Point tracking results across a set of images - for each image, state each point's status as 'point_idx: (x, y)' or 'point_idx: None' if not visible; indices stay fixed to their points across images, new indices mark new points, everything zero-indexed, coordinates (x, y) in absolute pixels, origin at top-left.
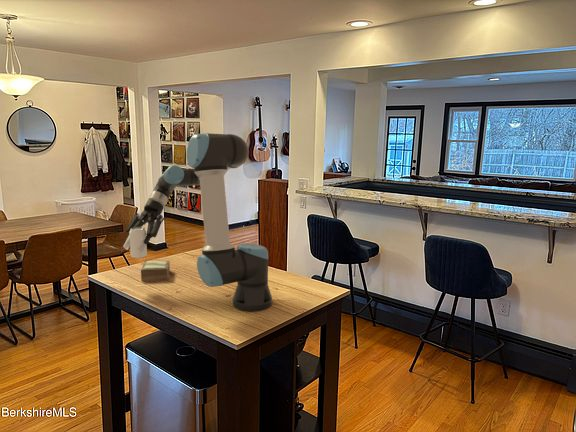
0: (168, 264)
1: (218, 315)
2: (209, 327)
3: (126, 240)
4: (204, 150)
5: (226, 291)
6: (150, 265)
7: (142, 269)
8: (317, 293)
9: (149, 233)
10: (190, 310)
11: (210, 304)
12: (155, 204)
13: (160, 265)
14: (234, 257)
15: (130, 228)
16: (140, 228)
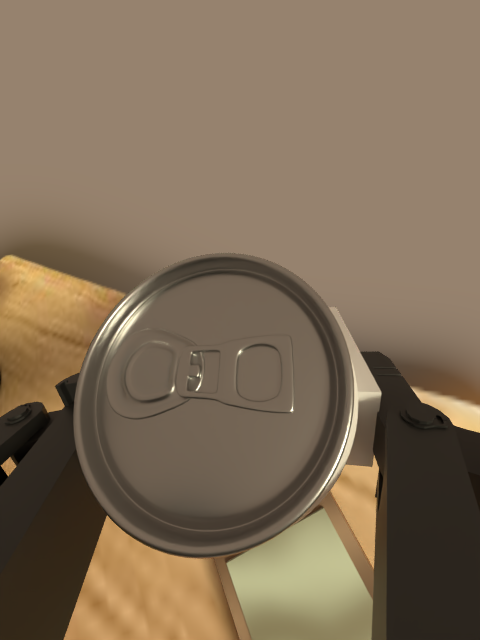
0: None
1: (29, 319)
2: (42, 274)
3: (344, 332)
4: None
5: (12, 467)
6: (329, 590)
7: (325, 500)
8: None
9: (63, 417)
10: (82, 316)
11: (47, 361)
12: None
13: (273, 611)
14: None
15: (318, 298)
16: (177, 445)
